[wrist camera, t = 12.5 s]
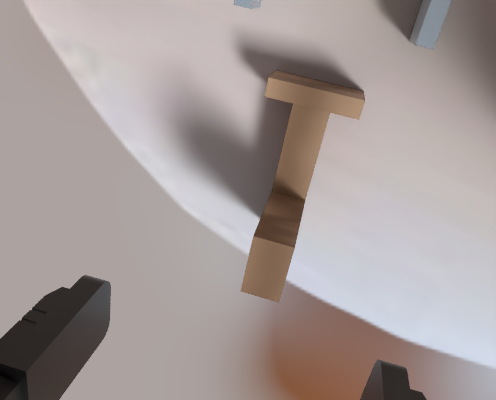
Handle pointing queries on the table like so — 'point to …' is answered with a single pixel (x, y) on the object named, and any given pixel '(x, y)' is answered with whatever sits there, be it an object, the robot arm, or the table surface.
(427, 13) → the acrylic channel
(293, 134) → the wooden t-shaped piece
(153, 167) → the table surface
